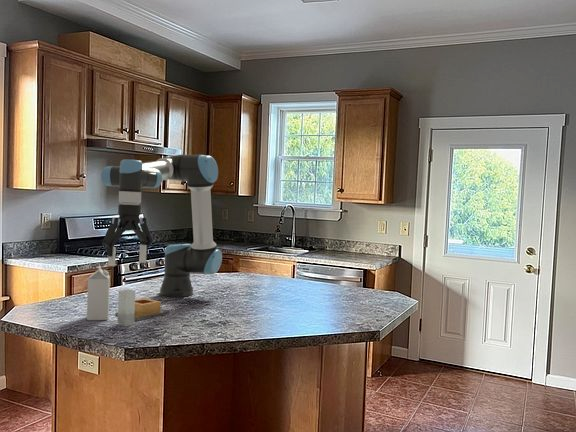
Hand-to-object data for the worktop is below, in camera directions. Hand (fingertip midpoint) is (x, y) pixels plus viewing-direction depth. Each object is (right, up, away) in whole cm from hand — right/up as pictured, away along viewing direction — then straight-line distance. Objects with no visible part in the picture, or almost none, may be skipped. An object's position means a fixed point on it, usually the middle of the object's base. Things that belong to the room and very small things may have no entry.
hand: (127, 264), depth 184 cm
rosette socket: (+1, -21, +16) cm, 27 cm away
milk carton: (-13, -21, +8) cm, 26 cm away
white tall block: (-1, -21, +1) cm, 21 cm away
